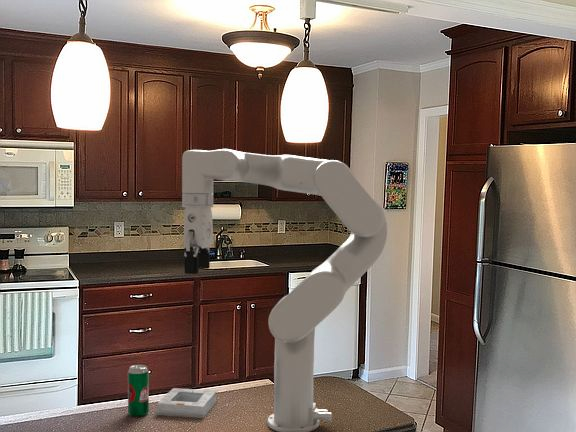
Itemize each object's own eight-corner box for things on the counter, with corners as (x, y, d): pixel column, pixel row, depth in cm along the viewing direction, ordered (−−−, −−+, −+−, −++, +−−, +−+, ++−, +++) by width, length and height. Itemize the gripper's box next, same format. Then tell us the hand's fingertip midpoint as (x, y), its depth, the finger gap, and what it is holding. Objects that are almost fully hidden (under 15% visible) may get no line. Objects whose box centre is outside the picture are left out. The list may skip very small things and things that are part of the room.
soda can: (143, 418, 155) (143, 370, 154) (124, 416, 156) (124, 369, 155) (152, 411, 159) (151, 364, 159) (133, 409, 160) (133, 363, 160)
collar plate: (216, 401, 167) (216, 389, 167) (203, 418, 155) (203, 405, 155) (173, 399, 169) (173, 387, 168) (157, 415, 157) (157, 402, 157)
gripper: (202, 202, 143) (202, 276, 144) (221, 200, 160) (221, 266, 161) (171, 201, 145) (171, 275, 145) (193, 200, 162) (193, 266, 162)
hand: (197, 270), depth 153 cm, fingers open, 9 cm apart
